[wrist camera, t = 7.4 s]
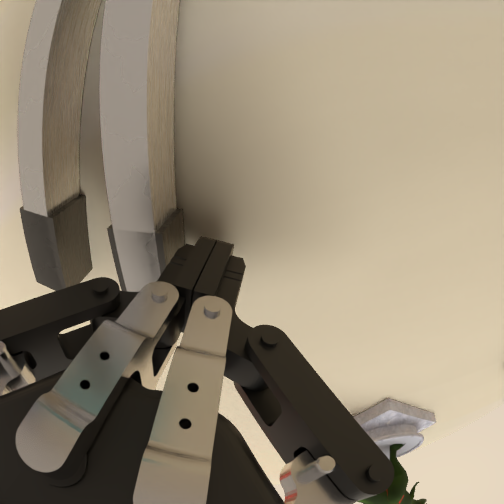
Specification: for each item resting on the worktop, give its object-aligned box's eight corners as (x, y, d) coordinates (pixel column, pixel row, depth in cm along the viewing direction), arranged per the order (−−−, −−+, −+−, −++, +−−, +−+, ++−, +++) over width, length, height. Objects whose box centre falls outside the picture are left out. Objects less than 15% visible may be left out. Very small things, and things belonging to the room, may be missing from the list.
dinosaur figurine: (387, 446, 27) (391, 522, 17) (261, 415, 23) (243, 530, 13) (446, 416, 22) (461, 501, 12) (331, 375, 18) (331, 531, 8)
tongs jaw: (155, -100, 3) (135, -118, 1) (206, -111, 3) (192, -133, 1) (146, 287, 15) (129, 315, 13) (189, 294, 15) (175, 325, 13)
